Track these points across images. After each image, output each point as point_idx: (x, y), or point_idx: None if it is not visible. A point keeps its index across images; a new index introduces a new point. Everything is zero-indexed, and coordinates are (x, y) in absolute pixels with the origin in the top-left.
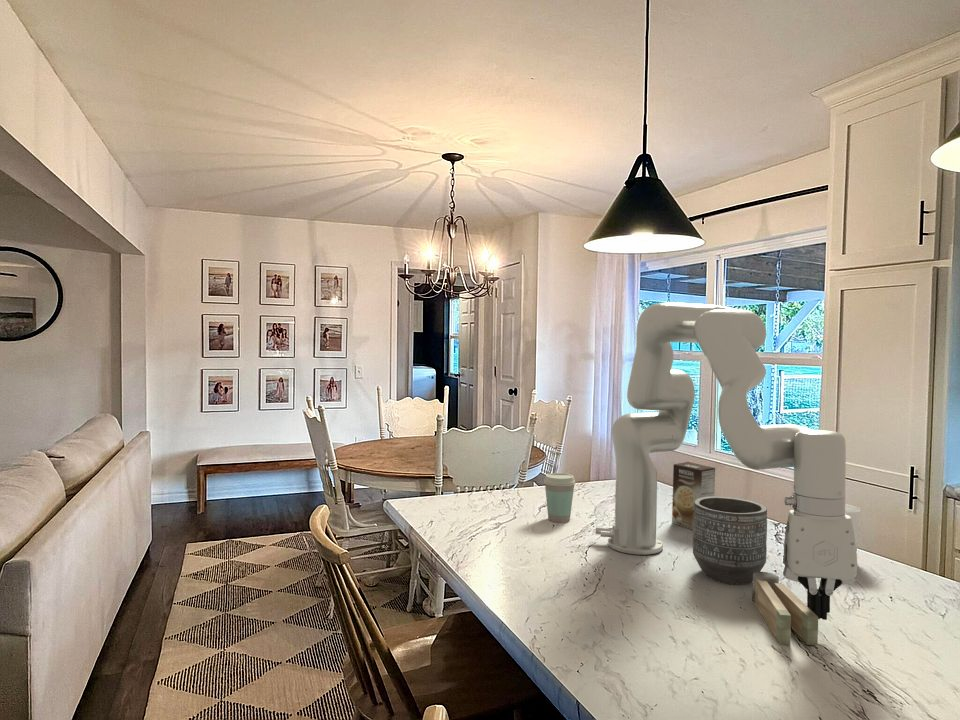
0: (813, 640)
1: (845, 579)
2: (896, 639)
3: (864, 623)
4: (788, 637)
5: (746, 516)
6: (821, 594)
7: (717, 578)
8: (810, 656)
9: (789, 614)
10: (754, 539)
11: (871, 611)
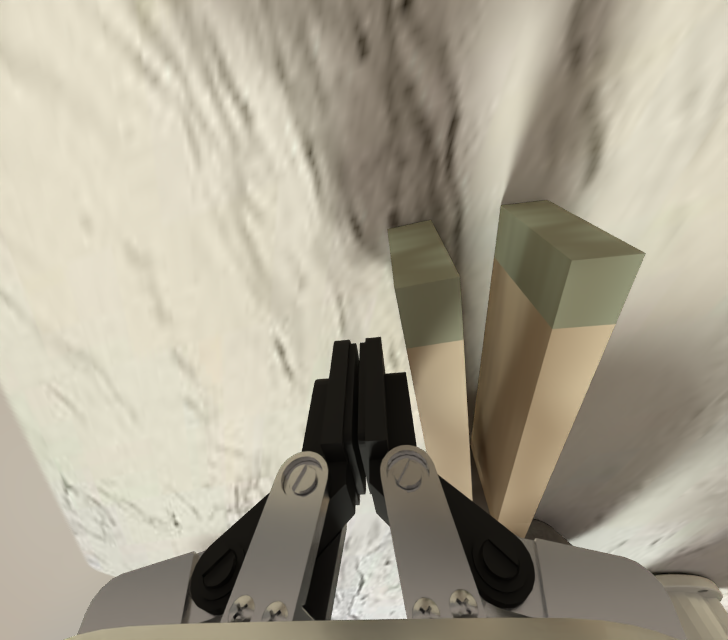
0: (406, 232)
1: (157, 605)
2: (131, 360)
3: (221, 422)
4: (523, 213)
5: None
6: (349, 459)
7: (547, 528)
8: (446, 106)
9: (571, 276)
10: None
11: (208, 474)
